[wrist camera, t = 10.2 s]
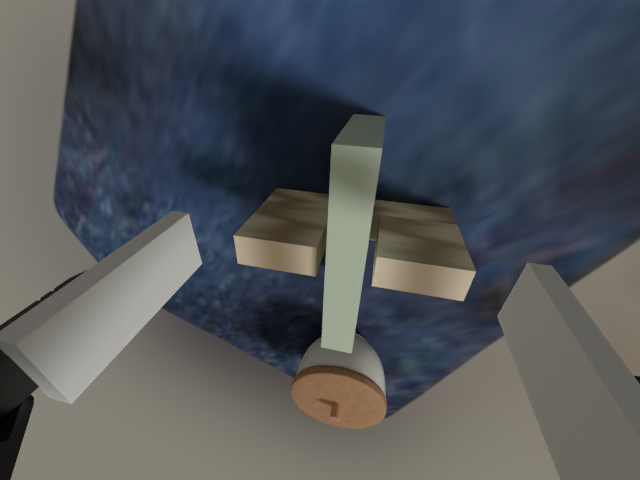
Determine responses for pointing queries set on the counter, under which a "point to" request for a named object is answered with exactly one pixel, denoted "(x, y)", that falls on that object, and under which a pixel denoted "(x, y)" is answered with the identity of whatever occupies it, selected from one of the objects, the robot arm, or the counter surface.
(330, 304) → the sage plate
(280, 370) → the counter surface
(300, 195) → the beech u-shaped block
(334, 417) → the lidded jar
